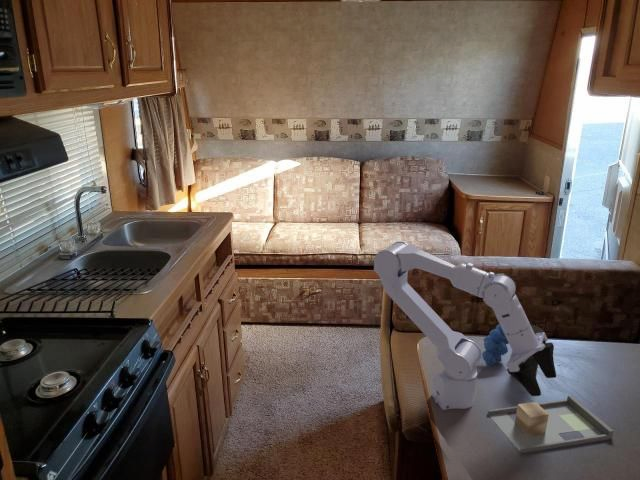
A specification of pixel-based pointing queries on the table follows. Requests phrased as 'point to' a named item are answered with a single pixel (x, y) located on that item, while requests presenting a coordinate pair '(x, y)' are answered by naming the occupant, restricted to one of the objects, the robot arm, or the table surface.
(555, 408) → the board
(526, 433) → the block
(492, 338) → the grapes
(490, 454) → the table surface
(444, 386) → the robot arm
